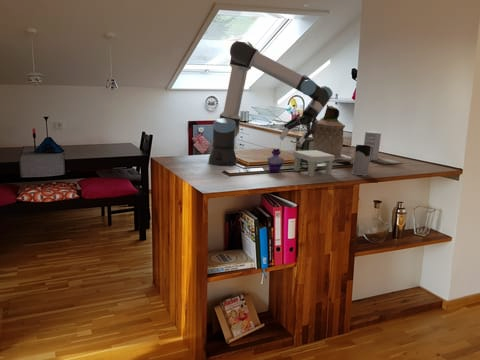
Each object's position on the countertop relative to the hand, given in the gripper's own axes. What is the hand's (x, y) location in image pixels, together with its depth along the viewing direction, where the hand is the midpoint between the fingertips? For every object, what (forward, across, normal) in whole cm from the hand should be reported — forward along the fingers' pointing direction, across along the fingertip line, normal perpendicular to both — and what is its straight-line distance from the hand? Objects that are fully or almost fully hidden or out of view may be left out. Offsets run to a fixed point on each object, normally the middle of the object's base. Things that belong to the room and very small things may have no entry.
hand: (290, 140), depth 237 cm
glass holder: (-11, -25, -34) cm, 43 cm away
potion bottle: (+18, 0, -4) cm, 18 cm away
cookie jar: (-24, +16, -47) cm, 55 cm away
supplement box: (-40, -1, -62) cm, 74 cm away
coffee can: (-5, +10, -27) cm, 29 cm away
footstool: (+5, -10, -16) cm, 20 cm away
